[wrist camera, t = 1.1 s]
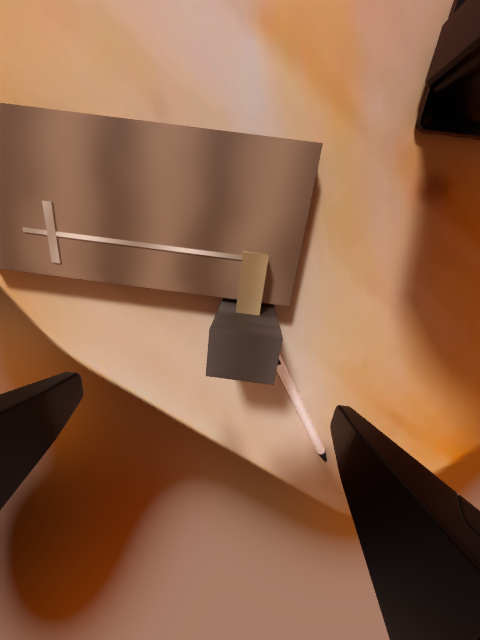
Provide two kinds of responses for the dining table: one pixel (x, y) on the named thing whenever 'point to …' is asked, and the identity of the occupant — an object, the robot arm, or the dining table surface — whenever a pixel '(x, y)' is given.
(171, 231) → the gray rectangular board
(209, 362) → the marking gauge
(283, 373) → the pen
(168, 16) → the dining table surface
